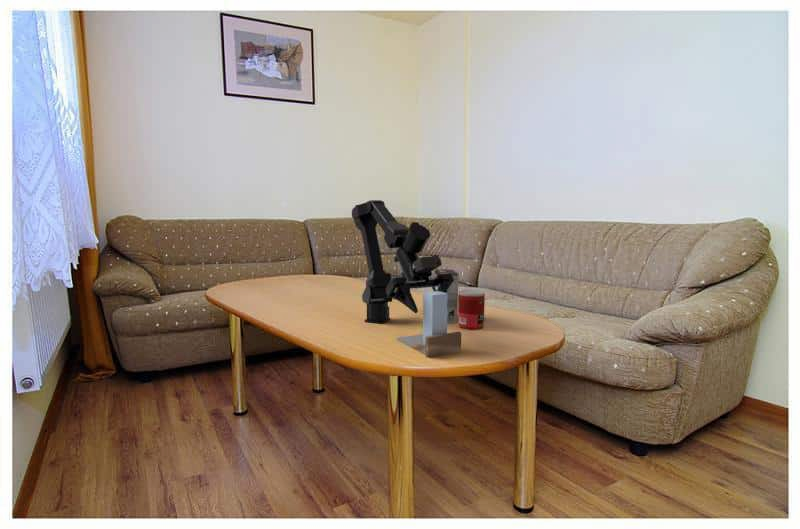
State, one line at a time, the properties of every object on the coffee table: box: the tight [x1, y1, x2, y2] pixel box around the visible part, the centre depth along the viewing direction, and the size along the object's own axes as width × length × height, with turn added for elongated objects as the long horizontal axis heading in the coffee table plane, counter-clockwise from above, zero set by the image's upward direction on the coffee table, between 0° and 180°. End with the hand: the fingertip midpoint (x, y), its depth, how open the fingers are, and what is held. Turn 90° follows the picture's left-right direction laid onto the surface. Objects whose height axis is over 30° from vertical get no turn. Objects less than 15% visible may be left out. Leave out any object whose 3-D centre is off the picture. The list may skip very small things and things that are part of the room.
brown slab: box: [411, 331, 462, 358], centre depth 122 cm, size 9×10×5 cm
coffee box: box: [434, 268, 459, 324], centre depth 153 cm, size 9×6×16 cm
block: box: [422, 290, 448, 346], centre depth 121 cm, size 4×4×15 cm
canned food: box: [457, 289, 486, 331], centre depth 144 cm, size 8×8×11 cm
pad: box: [396, 333, 423, 348], centre depth 130 cm, size 9×9×1 cm
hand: (432, 310), depth 122 cm, fingers open, 9 cm apart
